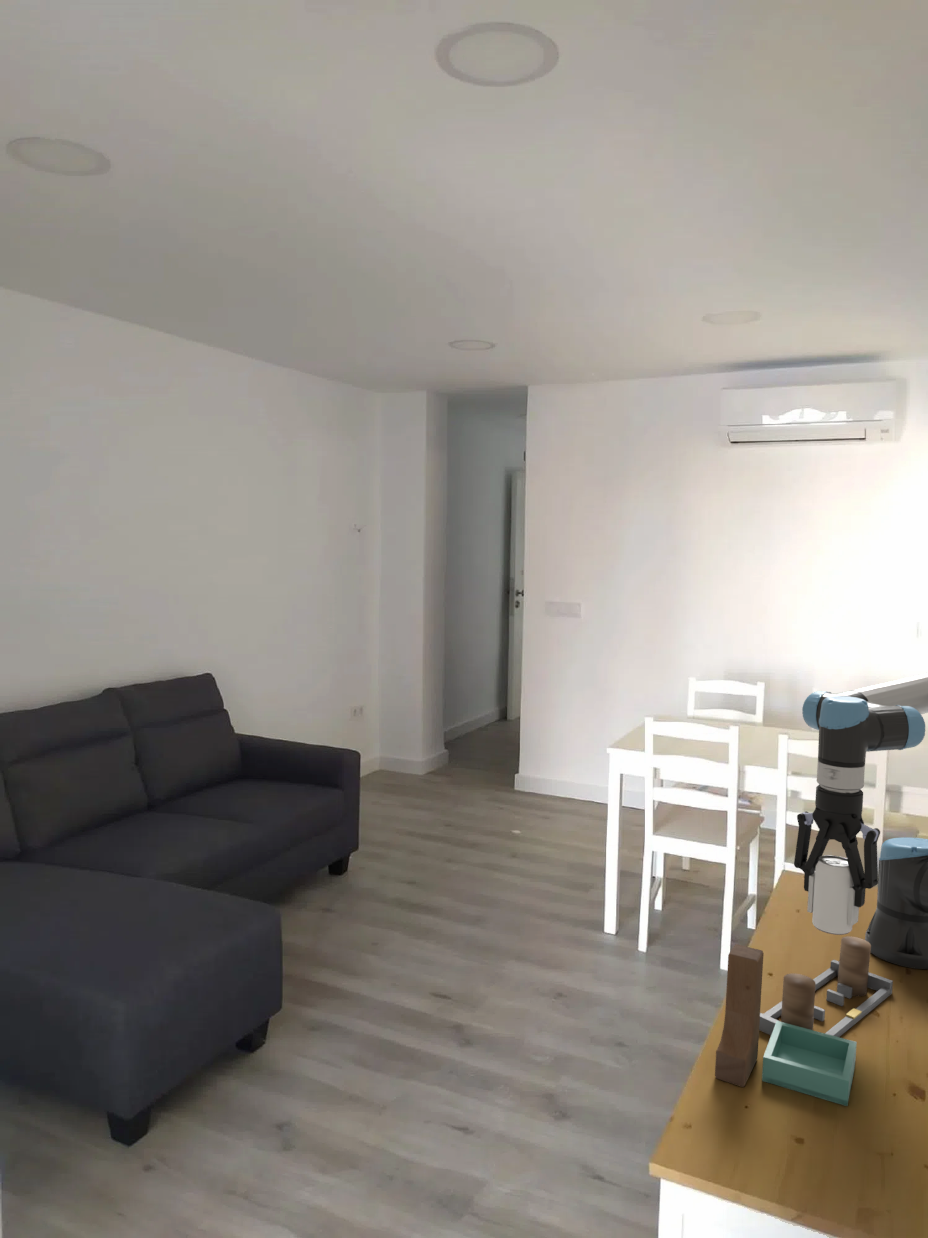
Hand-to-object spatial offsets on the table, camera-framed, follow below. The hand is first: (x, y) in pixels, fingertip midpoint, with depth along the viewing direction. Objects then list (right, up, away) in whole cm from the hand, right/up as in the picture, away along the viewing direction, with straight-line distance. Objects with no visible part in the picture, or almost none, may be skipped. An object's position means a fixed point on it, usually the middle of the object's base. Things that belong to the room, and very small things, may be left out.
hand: (832, 916), depth 155 cm
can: (0, -2, 0) cm, 2 cm away
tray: (-11, -18, -18) cm, 28 cm away
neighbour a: (+7, -16, +9) cm, 20 cm away
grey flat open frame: (-1, -17, +1) cm, 17 cm away
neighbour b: (-9, -17, -6) cm, 20 cm away
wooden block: (-22, -18, -17) cm, 33 cm away
